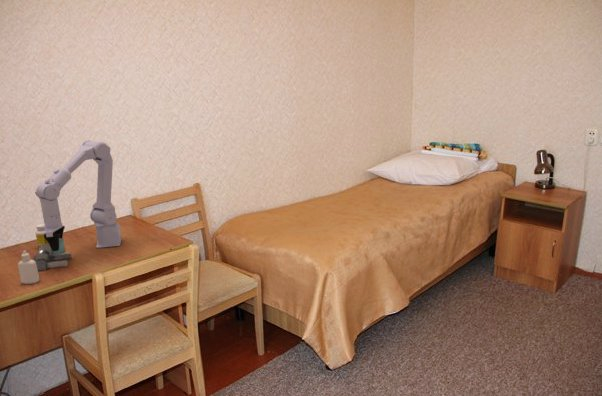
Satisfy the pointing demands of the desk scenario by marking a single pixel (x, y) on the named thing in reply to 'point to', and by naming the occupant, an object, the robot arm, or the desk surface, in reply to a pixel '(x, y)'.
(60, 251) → the teal cylinder
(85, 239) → the desk surface
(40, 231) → the supplement bottle
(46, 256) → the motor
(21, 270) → the eye dropper bottle
